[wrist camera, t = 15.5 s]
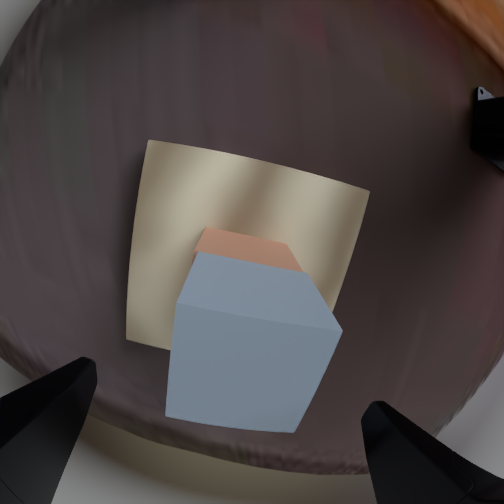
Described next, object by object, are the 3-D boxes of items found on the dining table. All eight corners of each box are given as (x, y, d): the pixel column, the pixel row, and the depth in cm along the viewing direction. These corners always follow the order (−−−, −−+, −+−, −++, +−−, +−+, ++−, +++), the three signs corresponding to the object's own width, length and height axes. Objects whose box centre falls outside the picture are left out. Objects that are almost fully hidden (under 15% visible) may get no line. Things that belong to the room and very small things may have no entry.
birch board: (358, 188, 19) (370, 191, 17) (303, 356, 23) (308, 371, 21) (157, 141, 18) (148, 139, 16) (133, 325, 21) (126, 339, 20)
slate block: (307, 273, 13) (342, 330, 8) (279, 360, 15) (294, 432, 10) (198, 251, 13) (176, 302, 8) (183, 343, 14) (165, 415, 9)
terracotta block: (286, 243, 18) (304, 272, 13) (266, 314, 19) (275, 359, 15) (206, 226, 17) (194, 250, 13) (192, 300, 19) (179, 343, 14)
